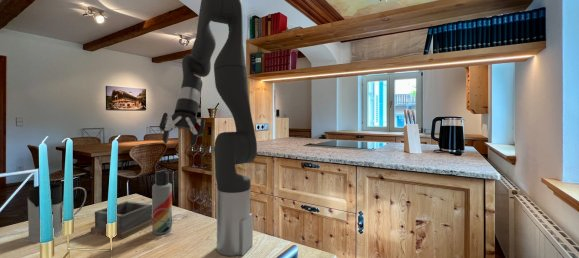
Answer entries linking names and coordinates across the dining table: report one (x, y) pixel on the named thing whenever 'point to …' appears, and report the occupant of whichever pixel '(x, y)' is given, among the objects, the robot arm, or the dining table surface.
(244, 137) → the robot arm
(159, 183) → the lotion bottle
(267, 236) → the dining table surface
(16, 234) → the dining table surface
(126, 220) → the dark grey open box
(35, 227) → the grey mug
